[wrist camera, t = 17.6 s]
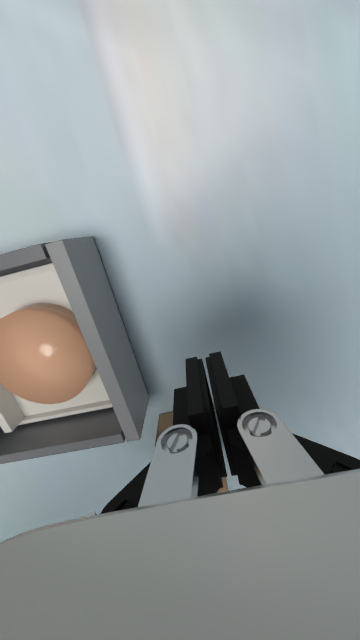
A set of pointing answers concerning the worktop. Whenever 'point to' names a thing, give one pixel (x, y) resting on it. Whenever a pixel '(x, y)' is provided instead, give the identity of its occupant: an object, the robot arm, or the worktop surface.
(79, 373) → the tan domed disc
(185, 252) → the worktop surface
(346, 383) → the worktop surface
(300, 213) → the worktop surface
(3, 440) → the housing
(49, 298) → the tray
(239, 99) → the worktop surface
